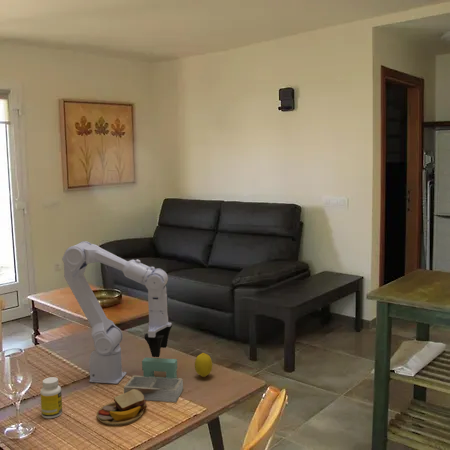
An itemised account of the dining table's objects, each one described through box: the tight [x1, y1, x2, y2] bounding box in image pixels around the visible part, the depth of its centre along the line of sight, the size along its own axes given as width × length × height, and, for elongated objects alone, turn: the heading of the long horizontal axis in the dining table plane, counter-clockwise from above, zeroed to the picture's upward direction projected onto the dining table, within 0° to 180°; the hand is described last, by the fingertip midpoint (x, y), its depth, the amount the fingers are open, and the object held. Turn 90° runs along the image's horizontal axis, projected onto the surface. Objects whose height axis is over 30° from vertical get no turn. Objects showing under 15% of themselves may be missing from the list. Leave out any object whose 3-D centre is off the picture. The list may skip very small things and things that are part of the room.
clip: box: [141, 356, 178, 378], centre depth 163 cm, size 10×3×6 cm, turn 80°
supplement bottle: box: [39, 376, 63, 419], centre depth 142 cm, size 5×5×10 cm
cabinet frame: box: [123, 375, 184, 403], centre depth 153 cm, size 15×8×4 cm, turn 80°
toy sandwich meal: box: [96, 389, 148, 426], centre depth 142 cm, size 12×14×5 cm
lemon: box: [194, 352, 213, 378], centre depth 164 cm, size 6×6×8 cm
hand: (159, 351), depth 162 cm, fingers open, 7 cm apart
